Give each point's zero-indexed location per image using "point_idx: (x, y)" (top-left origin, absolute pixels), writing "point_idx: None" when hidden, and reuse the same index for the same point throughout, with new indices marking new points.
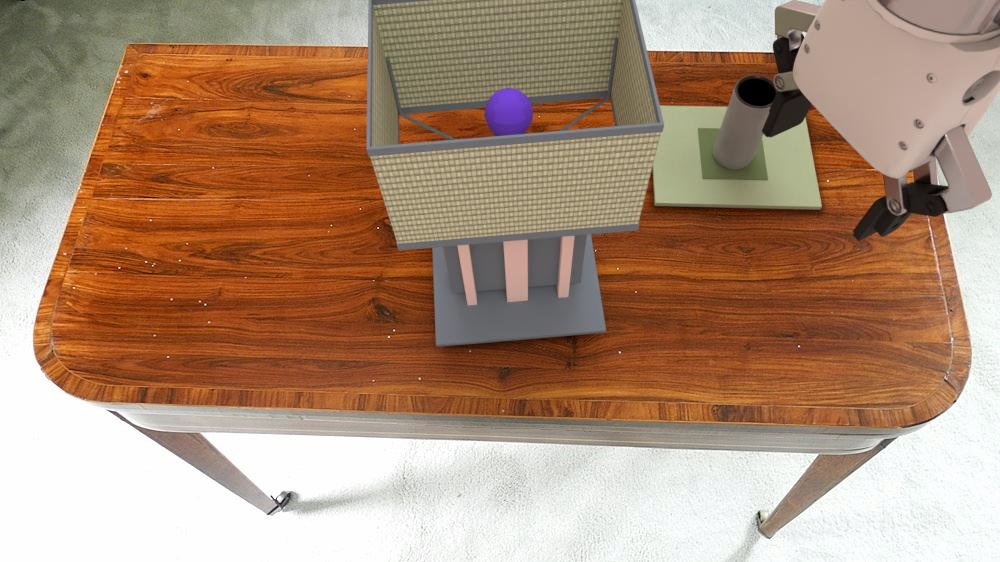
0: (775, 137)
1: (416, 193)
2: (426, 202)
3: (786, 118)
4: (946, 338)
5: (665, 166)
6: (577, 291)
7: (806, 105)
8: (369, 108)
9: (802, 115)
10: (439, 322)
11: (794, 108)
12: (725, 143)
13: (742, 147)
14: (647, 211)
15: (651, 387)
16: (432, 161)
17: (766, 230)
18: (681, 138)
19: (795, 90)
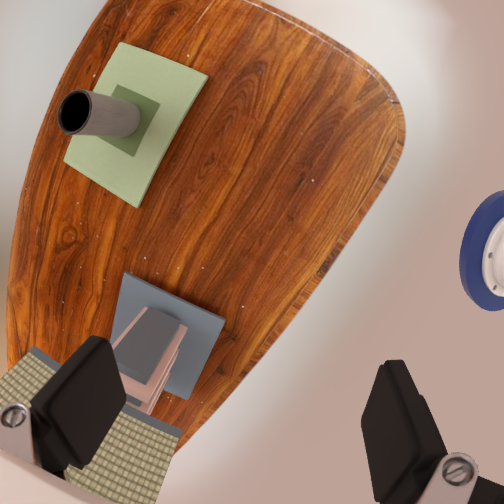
0: (129, 76)
1: None
2: None
3: (103, 410)
4: (366, 73)
5: (111, 180)
6: (186, 319)
7: (83, 389)
8: None
9: (98, 366)
10: (174, 392)
11: (89, 420)
12: (111, 135)
13: (121, 125)
14: (141, 215)
15: (279, 303)
16: None
17: (202, 131)
18: (95, 152)
19: (65, 465)
